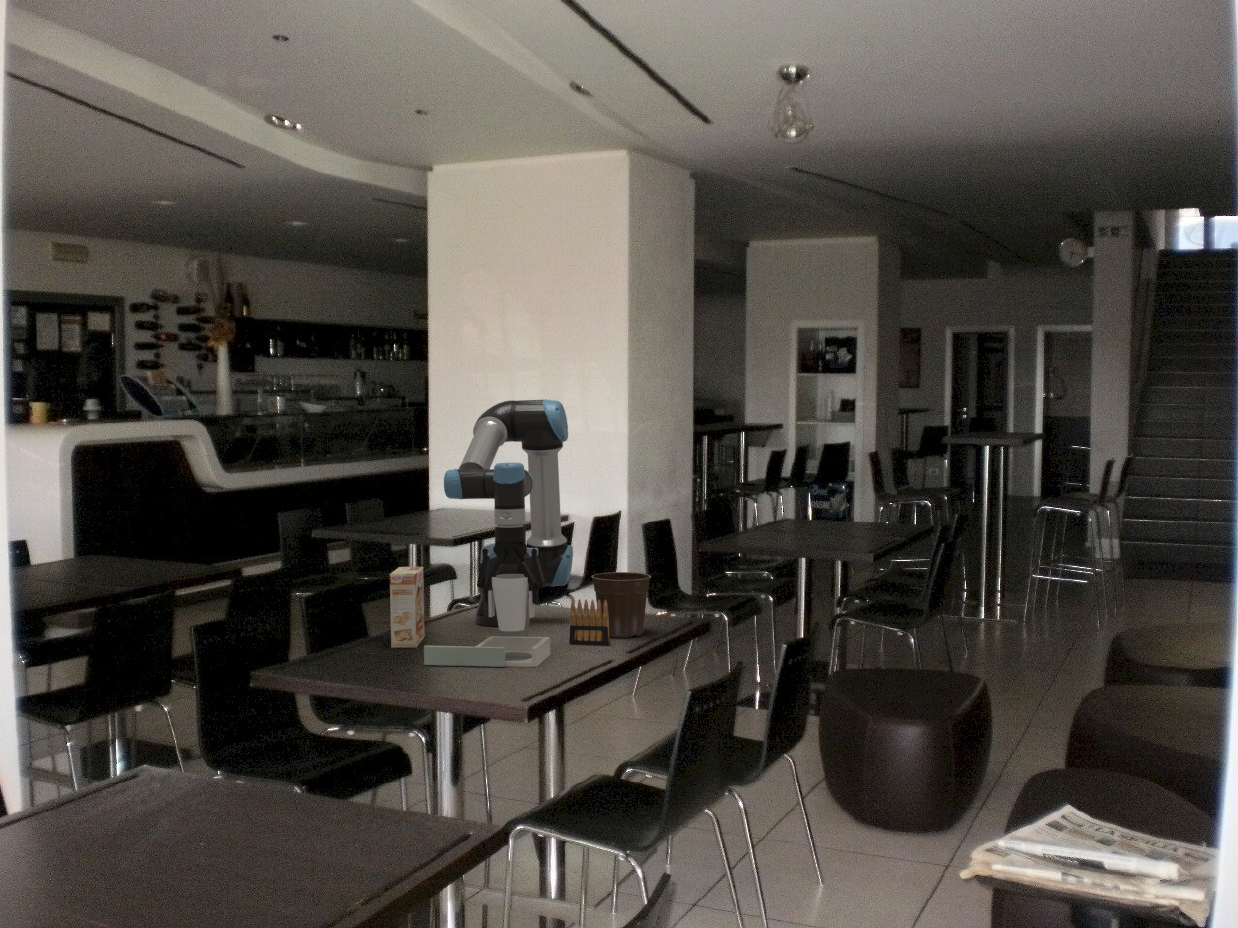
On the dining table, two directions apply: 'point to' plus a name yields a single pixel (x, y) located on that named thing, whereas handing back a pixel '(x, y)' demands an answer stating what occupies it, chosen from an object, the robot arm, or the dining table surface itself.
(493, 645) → the housing
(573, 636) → the ammunition clip
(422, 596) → the coffeecake box
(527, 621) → the coffee cup
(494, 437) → the robot arm
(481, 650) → the gate
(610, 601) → the plant pot
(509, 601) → the foam cup
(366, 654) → the dining table surface
